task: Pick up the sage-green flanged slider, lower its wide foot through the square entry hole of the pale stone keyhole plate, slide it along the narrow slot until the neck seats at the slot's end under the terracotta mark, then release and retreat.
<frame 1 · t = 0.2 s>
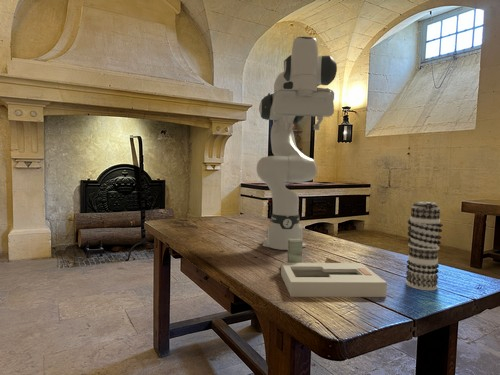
hand: (302, 129, 112), 47 cm above the table, fingers open, 8 cm apart
keyhole plate: (329, 284, 99), on the table
decorative candle: (421, 286, 101), on the table
shard: (330, 267, 118), on the table
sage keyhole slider: (294, 271, 112), on the table
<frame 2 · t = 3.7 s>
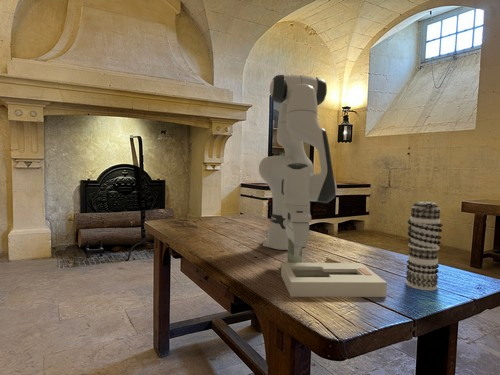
hand: (294, 254, 111), 6 cm above the table, fingers closed on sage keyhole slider, 4 cm apart
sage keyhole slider: (294, 271, 112), on the table, touching gripper
everything else where it was.
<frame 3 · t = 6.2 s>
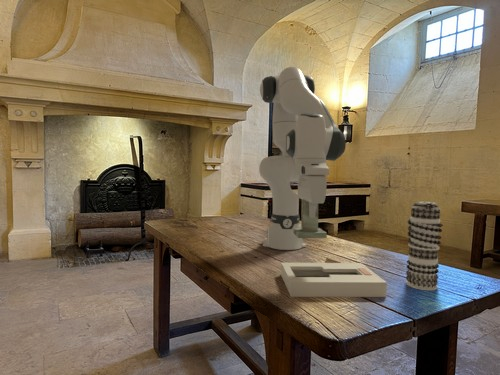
hand: (309, 216, 98), 20 cm above the table, fingers closed on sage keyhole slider, 4 cm apart
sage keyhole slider: (309, 235, 99), point 15 cm above the table, touching gripper
everything else where it was.
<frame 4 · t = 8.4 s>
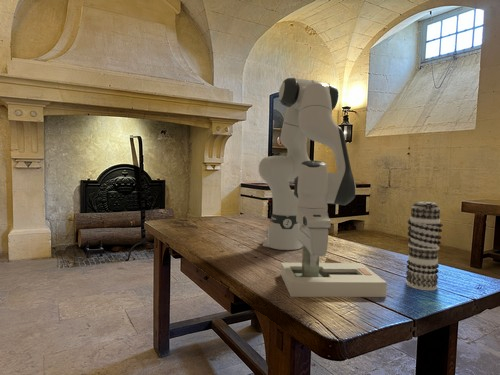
hand: (310, 263, 98), 6 cm above the table, fingers closed on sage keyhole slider, 4 cm apart
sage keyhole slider: (309, 282, 99), point 1 cm above the table, touching gripper
everything else where it was.
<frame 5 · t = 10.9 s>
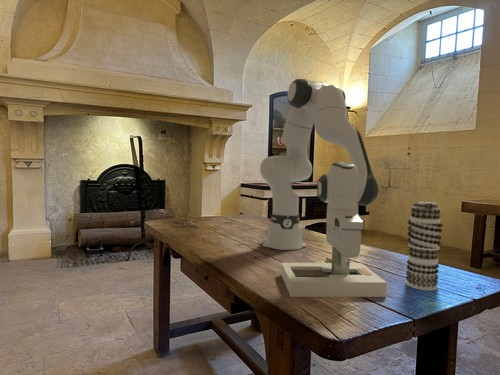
hand: (340, 264, 99), 6 cm above the table, fingers closed on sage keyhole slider, 4 cm apart
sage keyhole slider: (339, 283, 99), point 1 cm above the table, touching gripper
everything else where it was.
when the fingers open (6 cm above the table, at t = 12.9 s): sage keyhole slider stays where it is, on the table.
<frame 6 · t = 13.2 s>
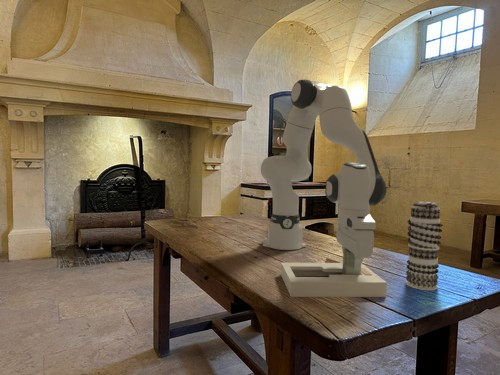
hand: (351, 264, 99), 6 cm above the table, fingers open, 7 cm apart
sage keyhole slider: (350, 285, 99), on the table
everything else where it was.
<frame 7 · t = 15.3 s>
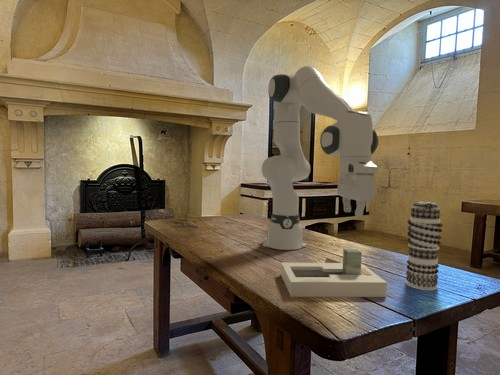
hand: (352, 214, 98), 21 cm above the table, fingers open, 8 cm apart
nothing on the table moved.
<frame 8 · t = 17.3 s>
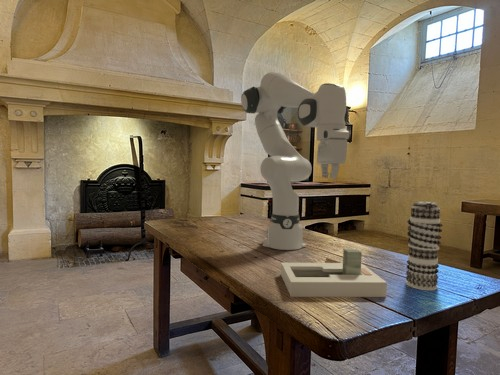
hand: (329, 178, 108), 31 cm above the table, fingers open, 8 cm apart
nothing on the table moved.
at the end: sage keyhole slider 0.1 cm from the target spot on the keyhole plate, point 0.0 cm above the keyhole plate's base; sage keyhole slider tilted 0°; the gripper is holding nothing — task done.
